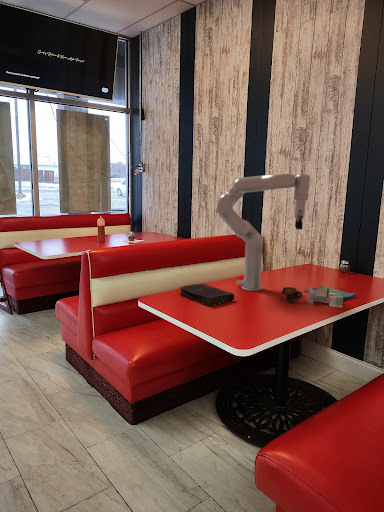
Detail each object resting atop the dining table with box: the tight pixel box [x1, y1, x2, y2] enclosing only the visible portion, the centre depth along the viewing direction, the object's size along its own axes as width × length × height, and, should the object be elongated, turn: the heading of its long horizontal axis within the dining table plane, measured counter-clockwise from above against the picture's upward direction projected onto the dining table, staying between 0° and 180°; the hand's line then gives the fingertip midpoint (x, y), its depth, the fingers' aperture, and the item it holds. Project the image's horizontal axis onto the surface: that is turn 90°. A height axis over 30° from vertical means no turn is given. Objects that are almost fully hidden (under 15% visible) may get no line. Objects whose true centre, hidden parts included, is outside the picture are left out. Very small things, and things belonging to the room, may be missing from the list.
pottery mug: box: [280, 286, 303, 304], centre depth 204 cm, size 12×9×8 cm
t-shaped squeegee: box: [308, 287, 331, 306], centre depth 200 cm, size 12×13×8 cm
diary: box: [178, 282, 235, 307], centre depth 204 cm, size 19×25×5 cm
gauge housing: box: [327, 293, 344, 309], centre depth 199 cm, size 6×10×5 cm, turn 168°
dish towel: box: [303, 285, 357, 302], centre depth 218 cm, size 17×23×2 cm
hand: (298, 228), depth 214 cm, fingers open, 9 cm apart
